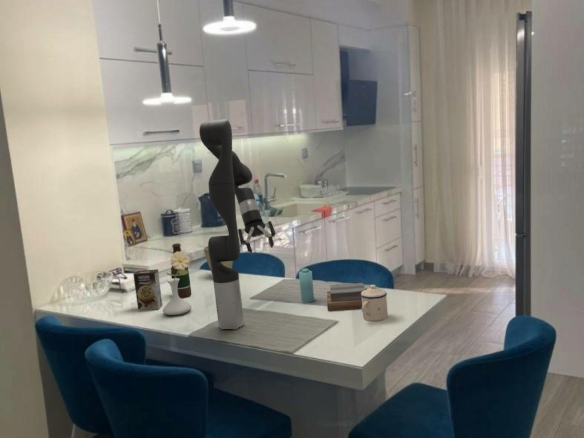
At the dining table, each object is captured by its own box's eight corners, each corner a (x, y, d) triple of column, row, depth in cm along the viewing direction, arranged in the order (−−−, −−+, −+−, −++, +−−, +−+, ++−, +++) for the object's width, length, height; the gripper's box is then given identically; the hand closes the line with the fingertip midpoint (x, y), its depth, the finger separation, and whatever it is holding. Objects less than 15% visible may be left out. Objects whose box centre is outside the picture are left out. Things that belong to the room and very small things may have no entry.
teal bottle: (314, 302, 220) (311, 270, 218) (301, 303, 220) (298, 271, 219) (314, 298, 225) (311, 267, 223) (301, 299, 226) (298, 268, 224)
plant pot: (218, 283, 265) (214, 250, 263) (201, 279, 276) (197, 248, 274) (243, 276, 275) (239, 244, 272) (226, 272, 286) (222, 242, 284)
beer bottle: (170, 298, 246) (163, 245, 243) (181, 293, 253) (175, 242, 250) (184, 299, 243) (177, 245, 239) (195, 294, 250) (188, 242, 246)
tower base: (370, 308, 206) (369, 292, 205) (327, 311, 207) (326, 295, 207) (367, 295, 222) (366, 281, 221) (327, 298, 223) (326, 284, 222)
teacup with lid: (371, 311, 202) (368, 280, 200) (393, 315, 196) (391, 283, 194) (352, 322, 193) (350, 289, 191) (375, 325, 187) (372, 292, 185)
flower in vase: (163, 319, 217) (155, 257, 213) (162, 311, 228) (154, 252, 224) (197, 313, 220) (189, 252, 217) (194, 306, 231) (187, 247, 227)
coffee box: (137, 311, 231) (132, 274, 229) (142, 307, 237) (137, 270, 235) (159, 309, 231) (154, 272, 228) (163, 305, 237) (158, 268, 235)
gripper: (233, 213, 219) (244, 251, 214) (267, 205, 222) (279, 242, 217) (233, 220, 226) (244, 257, 221) (266, 212, 229) (278, 248, 224)
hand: (261, 249), depth 219 cm, fingers open, 8 cm apart
